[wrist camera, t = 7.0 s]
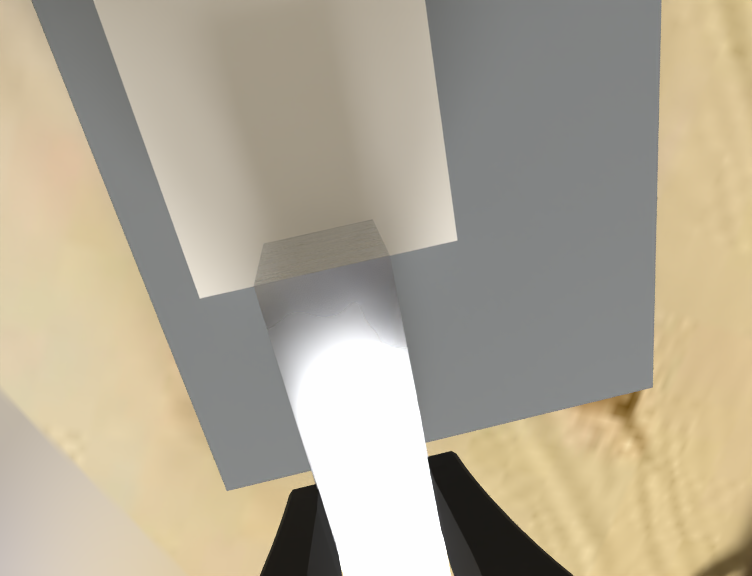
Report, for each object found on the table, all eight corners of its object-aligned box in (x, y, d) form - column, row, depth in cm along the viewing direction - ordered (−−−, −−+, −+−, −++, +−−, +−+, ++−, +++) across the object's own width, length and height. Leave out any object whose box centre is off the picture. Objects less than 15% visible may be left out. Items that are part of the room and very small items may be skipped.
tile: (439, 222, 16) (400, -43, 13) (457, 240, 14) (416, -64, 11) (212, 272, 15) (124, 12, 13) (199, 298, 13) (93, -1, 11)
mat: (654, -135, 13) (664, -142, 13) (646, 381, 19) (652, 387, 19) (32, -14, 12) (24, -17, 12) (228, 482, 19) (226, 491, 18)
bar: (372, 219, 12) (389, 254, 9) (443, 576, 16) (466, 657, 14) (263, 243, 11) (253, 286, 9) (367, 595, 16) (377, 681, 14)
